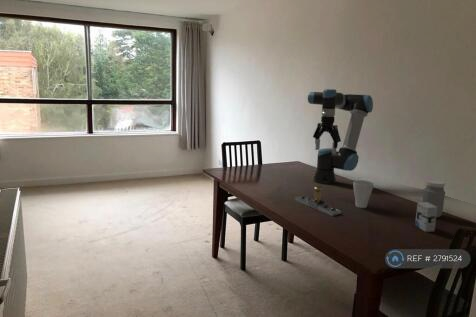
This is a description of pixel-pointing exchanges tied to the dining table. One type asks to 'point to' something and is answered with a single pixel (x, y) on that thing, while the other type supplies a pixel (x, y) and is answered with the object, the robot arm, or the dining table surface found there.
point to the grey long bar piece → (321, 207)
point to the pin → (317, 194)
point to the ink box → (426, 216)
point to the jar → (435, 195)
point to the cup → (362, 192)
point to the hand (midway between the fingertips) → (325, 151)
